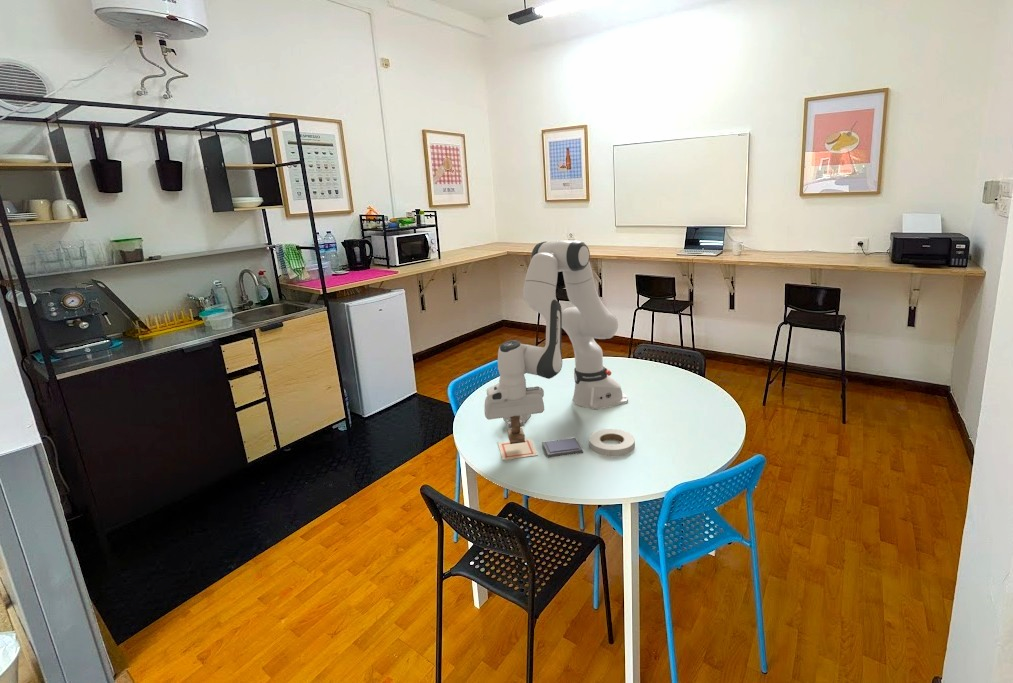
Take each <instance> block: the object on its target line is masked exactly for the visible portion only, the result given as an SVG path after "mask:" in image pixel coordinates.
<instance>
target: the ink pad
mask: <svg viewBox="0 0 1013 683" xmlns="http://www.w3.org/2000/svg"><path fill="white" fill-rule="evenodd" d="M541 445H542V448H543V450H544V451H545V454H546V456H547V458H548V459H551V458H556V457H557V458H558V457H563V456H564V457H565V456H571V455H579V454H584V449H583V447H582V446H581V445H580V443H579V440H578V439H577V437H570V438H562V439H555V440H548V441H542V442H541Z"/></svg>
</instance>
